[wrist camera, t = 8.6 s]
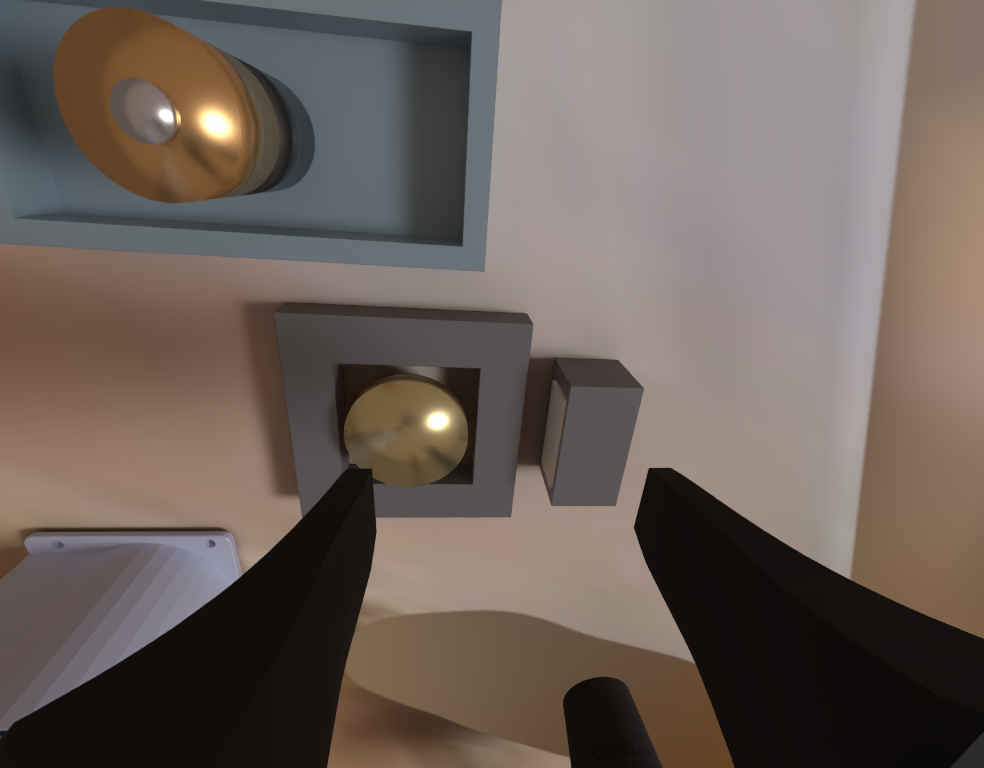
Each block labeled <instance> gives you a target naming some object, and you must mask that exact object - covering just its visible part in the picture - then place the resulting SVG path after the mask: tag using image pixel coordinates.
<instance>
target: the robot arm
mask: <svg viewBox="0 0 984 768" xmlns="http://www.w3.org/2000/svg"><path fill="white" fill-rule="evenodd" d="M634 529H635V532H636V535H637V538H638V541H639V544H640V547H641V550H642V553H643V556H644V558H645V561H646V564H647V566H648V568H649V570H650V572H651V574H652V576H653V578H654V580H655V582H656V584H657V586H658V588H659V590H660V592H661V594H662V596H663V598H664V600H665V602H666V604H667V606H668V608H669V610H670V612H671V614H672V616H673V618H674V620H675V622H676V624H677V626H678V628H679V630H680V632H681V634H682V636H683V638H684V640H685V642H686V644H687V646H688V648H689V650H690V652H691V654H692V657H693V659H694V661H695V663H696V665H697V668H698V670H699V673H700V675H701V678H702V680H703V683H704V686H705V688H706V691H707V693H708V695H709V698H710V700H711V703H712V706H713V708H714V711H715V714H716V717H717V719H718V722H719V725H720V728H721V731H722V733H723V736H724V738H725V742H726V744H727V747H728V750H729V753H730V755H731V758H732V761H733V764H734V767H735V768H984V639H983V638H980V637H978V636H975V635H973V634H970V633H968V632H965V631H962V630H960V629H958V628H956V627H953V626H951V625H948V624H946V623H943V622H941V621H938V620H936V619H934V618H931V617H929V616H926V615H924V614H922V613H920V612H917V611H915V610H913V609H910V608H908V607H906V606H904V605H901V604H899V603H897V602H895V601H893V600H891V599H889V598H886V597H884V596H882V595H880V594H878V593H876V592H874V591H872V590H870V589H868V588H865V587H863V586H861V585H859V584H857V583H855V582H853V581H851V580H849V579H847V578H845V577H844V576H842V575H840V574H838V573H836V572H834V571H832V570H830V569H829V568H827V567H825V566H823V565H821V564H819V563H818V562H816V561H814V560H812V559H810V558H809V557H807V556H805V555H803V554H802V553H800V552H798V551H796V550H795V549H793V548H791V547H790V546H788V545H786V544H785V543H783V542H782V541H780V540H778V539H777V538H775V537H774V536H772V535H770V534H769V533H767V532H766V531H764V530H762V529H761V528H759V527H758V526H756V525H755V524H753V523H752V522H750V521H749V520H747V519H746V518H744V517H743V516H741V515H740V514H738V513H737V512H735V511H734V510H732V509H731V508H729V507H728V506H727V505H725V504H724V503H722V502H721V501H719V500H718V499H716V498H715V497H714V496H712V495H711V494H709V493H708V492H706V491H705V490H704V489H702V488H701V487H699V486H698V485H696V484H695V483H693V482H692V481H691V480H689V479H688V478H686V477H685V476H683V475H682V474H680V473H678V472H677V471H675V470H673V469H672V468H649V470H648V474H647V478H646V482H645V486H644V489H643V493H642V497H641V501H640V505H639V509H638V513H637V517H636V521H635V525H634ZM376 532H377V531H376V517H375V502H374V487H373V473H372V468H364V469H346V470H345V471H344V472H343V473H342V474H341V475H340V476H339V478H338V479H337V480H336V481H335V482H334V484H333V485H332V486H331V487H330V488H329V489H328V491H327V492H326V493H325V494H324V495H323V496H322V497H321V499H320V500H319V501H318V502H317V503H316V504H315V505H314V506H313V507H312V509H311V510H310V511H309V512H308V513H307V514H306V515H305V516H304V517H303V518H302V519H301V520H300V521H299V522H298V524H297V525H296V526H295V527H294V528H293V529H292V530H291V531H290V532H289V533H288V534H287V535H286V536H285V537H284V538H282V539H281V540H280V541H279V542H278V543H277V544H276V545H275V546H274V547H273V548H272V549H271V550H270V551H269V552H268V553H267V554H266V555H265V556H264V557H263V558H261V559H260V560H259V561H258V562H257V563H256V564H255V565H254V566H253V567H251V568H250V569H249V570H248V571H247V572H246V573H244V574H243V575H242V572H241V567H240V563H239V559H238V554H237V550H236V545H235V541H234V538H233V536H232V535H231V534H230V533H228V532H225V531H145V532H34V533H32V534H30V535H29V536H28V537H27V538H26V539H25V540H24V544H25V547H26V549H27V551H28V553H29V554H28V555H27V556H26V557H25V558H24V559H23V560H22V561H21V562H20V563H18V564H17V565H16V566H15V567H14V568H13V569H12V570H11V571H10V572H8V573H7V574H6V575H5V576H4V577H3V578H2V579H1V580H0V768H327V764H328V758H329V752H330V746H331V740H332V734H333V728H334V722H335V717H336V711H337V705H338V700H339V694H340V688H341V683H342V678H343V674H344V669H345V665H346V661H347V657H348V653H349V649H350V646H351V642H352V638H353V635H354V631H355V627H356V624H357V620H358V616H359V613H360V609H361V605H362V601H363V598H364V594H365V590H366V586H367V583H368V579H369V575H370V571H371V566H372V559H373V553H374V546H375V539H376ZM210 540H212V541H214V542H212V541H210Z"/></svg>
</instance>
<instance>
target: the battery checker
mask: <svg viewBox="0 0 984 768" xmlns="http://www.w3.org/2000/svg"><path fill="white" fill-rule="evenodd" d="M274 317H275V324H276V332H277V339H278V346H279V353H280V361H281V368H282V375H283V382H284V389H285V397H286V404H287V411H288V418H289V426H290V433H291V440H292V447H293V454H294V462H295V469H296V476H297V483H298V491H299V498H300V505H301V512H302V518H303V517H304V516H305V515H306V514H307V513H308V512H309V511H310V510H311V509H312V507H313V506H314V505H315V504H316V503H317V502H318V501H319V500H320V499H321V497H322V496H323V495H324V494H325V493H326V492H327V491H328V489H329V488H330V487H331V486H332V485H333V484H334V482H335V481H336V480H337V479H338V478H339V476H340V475H341V474H342V473H343V472H344V471H345V470H346V469H360V468H359V467H358V466H357V465H350V464H349V453H348V451H347V448H346V445H345V440H344V426H345V421H346V412H345V399H344V386H343V373H342V364H370V365H399V366H428V367H457V368H478V374H477V390H476V405H475V421H474V436H473V452H472V466H456V467H455V468H454V469H453V470H452V471H451V472H450V473H449V474H447V475H446V476H444V477H443V478H441V479H439V480H437V481H435V482H432V483H429V484H425V485H421V486H413V487H403V486H395V485H390V484H386V483H383V482H381V481H378V480H376V479H374V478H373V487H374V502H375V517H511V511H512V503H513V494H514V485H515V477H516V468H517V460H518V451H519V442H520V434H521V425H522V417H523V408H524V399H525V391H526V382H527V374H528V365H529V356H530V348H531V339H532V331H533V323H532V321H531V319H530V318H529V316H528V314H519V313H498V312H478V311H457V310H436V309H415V308H394V307H373V306H352V305H331V304H310V303H290V302H287V303H286V304H284V305H283V306H282V307H280V308H279V309H278V310H277V311H275V312H274ZM643 390H644V388H643V387H642V386H641V385H640V384H639V383H638V381H637V380H636V379H635V378H634V377H633V376H632V375H631V374H630V373H629V371H628V370H627V369H626V368H625V367H624V366H623V365H622V364H621V363H620V361H619V360H596V359H569V358H555V363H554V370H553V377H552V384H551V391H550V398H549V405H548V412H547V419H546V426H545V433H544V440H543V447H542V454H541V461H540V469H541V473H542V476H543V479H544V482H545V486H546V489H547V492H548V496H549V499H550V502H551V505H552V506H616V502H617V498H618V494H619V490H620V486H621V481H622V477H623V473H624V469H625V465H626V461H627V456H628V452H629V448H630V444H631V440H632V436H633V432H634V427H635V423H636V419H637V415H638V411H639V407H640V402H641V398H642V394H643Z"/></svg>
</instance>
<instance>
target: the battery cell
mask: <svg viewBox="0 0 984 768" xmlns="http://www.w3.org/2000/svg"><path fill="white" fill-rule="evenodd" d="M53 81H54V89H55V95H56V99H57V103H58V107H59V110H60V112H61V115H62V118H63V120H64V122H65V124H66V126H67V128H68V131H69V132H70V134H71V136H72V137H73V139H74V141H75V142H76V144H77V145H78V146H79V148H80V149H81V150H82V152H83V153H84V154H85V156H86V157H87V158H88V159H89V160H90V161H91V162H92V163H93V164H94V165H95V166H96V167H97V168H98V169H99V170H100V171H101V172H102V173H103V174H104V175H106V176H107V177H108V178H110V179H111V180H112V181H113V182H115V183H116V184H118V185H120V186H121V187H123V188H124V189H126V190H128V191H130V192H132V193H134V194H136V195H139V196H141V197H144V198H147V199H150V200H154V201H158V202H164V203H188V202H196V201H203V200H211V199H219V198H227V197H235V196H243V195H250V194H258V193H266V192H274V191H281V190H284V189H288V188H290V187H292V186H294V185H295V184H297V183H298V182H299V181H300V180H301V179H302V178H303V177H304V176H305V175H306V173H307V172H308V170H309V168H310V166H311V164H312V161H313V157H314V152H315V136H314V130H313V126H312V123H311V120H310V117H309V115H308V113H307V111H306V109H305V107H304V106H303V104H302V103H301V101H300V100H299V98H298V97H297V96H296V95H295V94H294V92H293V91H291V90H290V89H289V88H288V87H287V86H286V85H285V84H283V83H282V82H281V81H279V80H278V79H276V78H274V77H272V76H271V75H269V74H267V73H265V72H263V71H261V70H259V69H257V68H255V67H253V66H252V65H250V64H248V63H246V62H244V61H242V60H240V59H238V58H236V57H235V56H233V55H231V54H229V53H227V52H225V51H223V50H221V49H219V48H217V47H216V46H214V45H212V44H210V43H208V42H206V41H204V40H202V39H200V38H199V37H197V36H195V35H193V34H191V33H189V32H187V31H185V30H183V29H182V28H180V27H178V26H176V25H174V24H172V23H170V22H168V21H166V20H164V19H162V18H160V17H158V16H156V15H154V14H151V13H148V12H145V11H142V10H138V9H132V8H127V7H110V8H102V9H99V10H95V11H92V12H90V13H88V14H86V15H84V16H82V17H80V18H79V19H78V20H77V21H76V22H74V23H73V24H72V25H71V26H70V27H69V29H68V30H67V31H66V32H65V34H64V36H63V37H62V39H61V41H60V43H59V46H58V49H57V52H56V55H55V61H54V70H53Z"/></svg>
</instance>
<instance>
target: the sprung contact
mask: <svg viewBox="0 0 984 768" xmlns="http://www.w3.org/2000/svg"><path fill="white" fill-rule="evenodd" d="M344 440H345V445H346V448H347V451H348V453H349V455H350V457H351V458H352V460H353V461H354V462H355V464H356V465H357V466H358V467H359V468H360V469H364V468H372V473H373V478H374V479H376V480H378V481H381V482H383V483H386V484H390V485H395V486H403V487H413V486H421V485H425V484H429V483H432V482H435V481H437V480H439V479H441V478H443V477H444V476H446V475H447V474H449V473H450V472H451V471H452V470H453V469H454V468H455V467H456V466H457V465H458V464H459V462H460V461H461V459H462V458H463V456H464V453H465V451H466V448H467V443H468V424H467V417H466V413H465V410H464V408H463V406H462V404H461V402H460V401H459V399H458V398H457V397H456V395H455V394H454V393H453V392H452V391H451V390H450V389H448V388H447V387H446V386H444V385H443V384H441V383H440V382H438V381H436V380H434V379H431V378H428V377H425V376H421V375H416V374H396V375H391V376H387V377H383V378H381V379H379V380H376V381H375V382H373V383H371V384H370V385H368V386H367V387H366V388H364V389H363V390H362V391H361V392H360V393H359V394H358V396H357V397H356V399H355V400H354V402H353V404H352V406H351V408H350V410H349V413H348V415H347V418H346V421H345V426H344Z"/></svg>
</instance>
